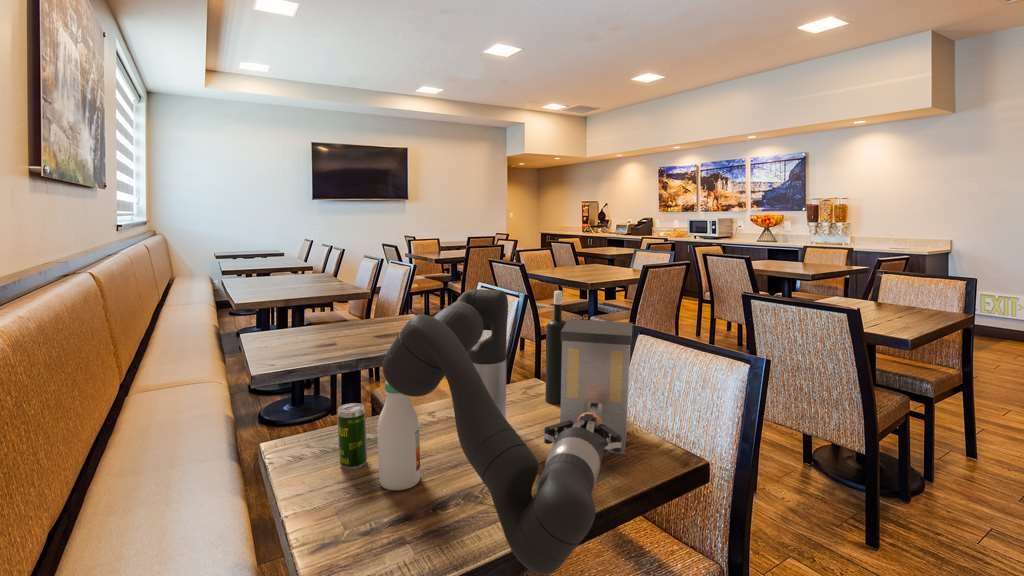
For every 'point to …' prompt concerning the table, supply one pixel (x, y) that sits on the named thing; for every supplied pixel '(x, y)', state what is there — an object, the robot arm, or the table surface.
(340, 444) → the beer can
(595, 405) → the plunger
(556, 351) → the wine bottle
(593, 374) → the dispenser
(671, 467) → the table surface
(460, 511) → the table surface
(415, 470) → the milk bottle
